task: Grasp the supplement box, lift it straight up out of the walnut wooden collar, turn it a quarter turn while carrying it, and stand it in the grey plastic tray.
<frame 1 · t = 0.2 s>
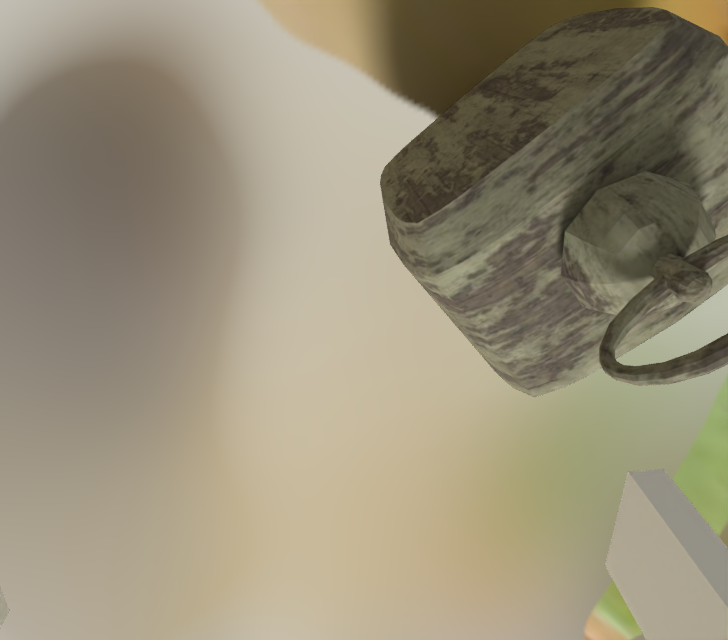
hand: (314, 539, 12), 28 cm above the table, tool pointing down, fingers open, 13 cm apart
tabletop clock: (485, 149, 36), on the table
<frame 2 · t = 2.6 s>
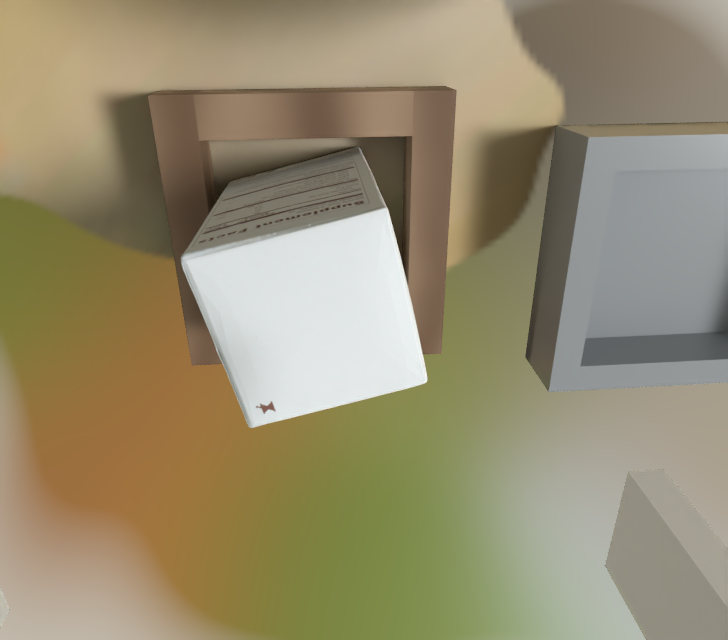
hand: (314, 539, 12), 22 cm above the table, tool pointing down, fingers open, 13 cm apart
grey tray: (672, 247, 34), on the table
supplement box: (312, 224, 32), resting in walnut collar
walnut collar: (312, 225, 31), on the table
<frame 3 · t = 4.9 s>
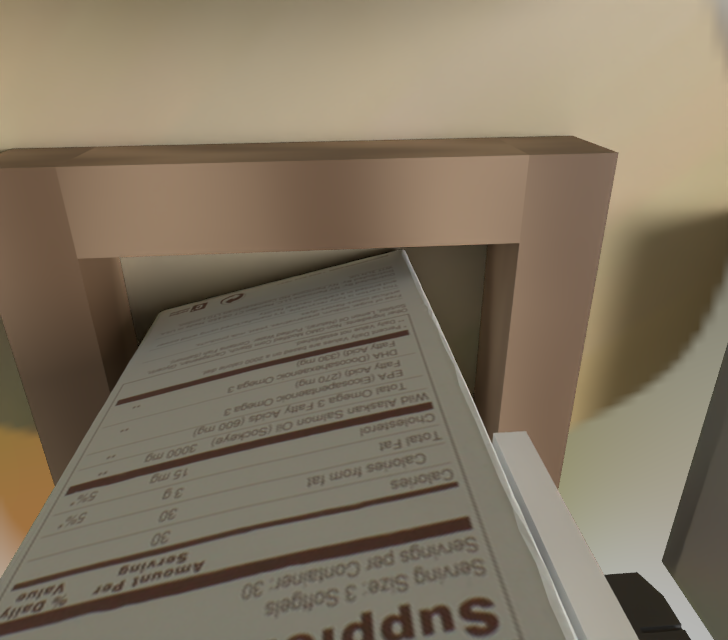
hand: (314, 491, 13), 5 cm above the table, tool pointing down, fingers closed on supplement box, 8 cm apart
supplement box: (314, 376, 18), resting in walnut collar, touching gripper
walnut collar: (314, 380, 17), on the table
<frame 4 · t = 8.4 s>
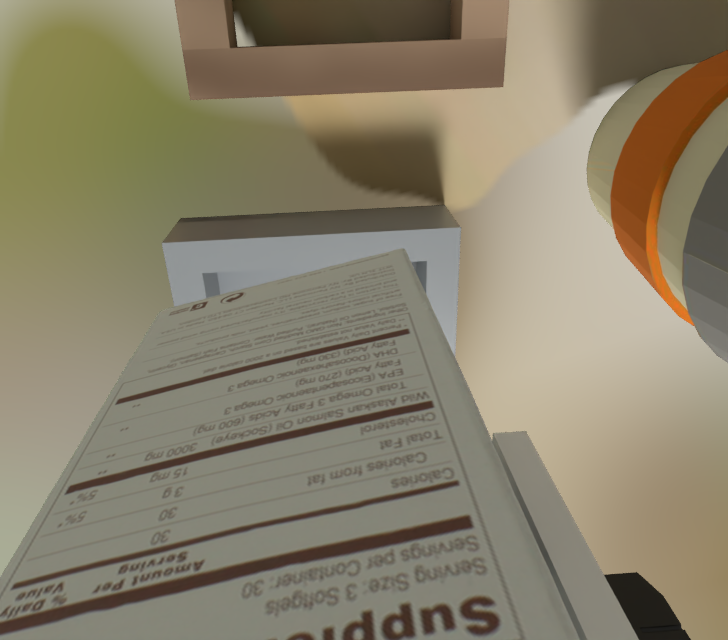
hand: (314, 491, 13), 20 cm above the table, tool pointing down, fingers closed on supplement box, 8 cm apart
reusable coffee cup: (667, 155, 31), on the table
grey tray: (323, 343, 34), on the table
supplement box: (314, 375, 18), point 15 cm above the table, touching gripper
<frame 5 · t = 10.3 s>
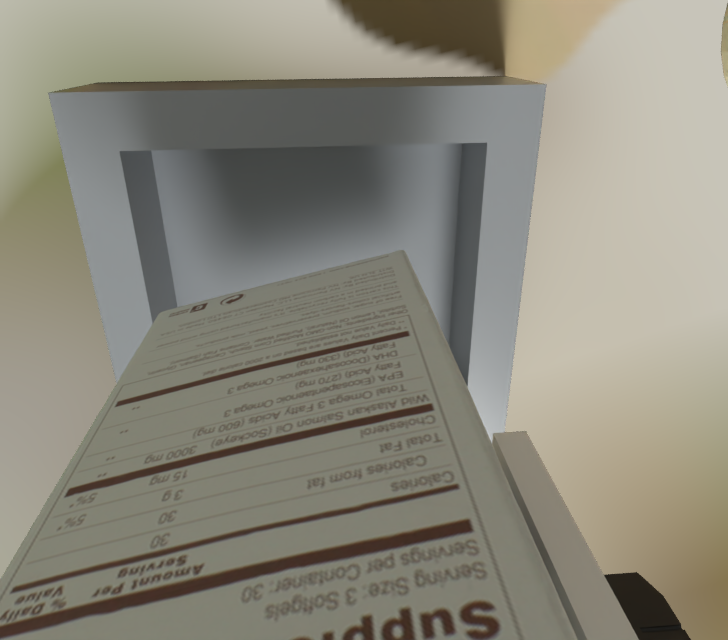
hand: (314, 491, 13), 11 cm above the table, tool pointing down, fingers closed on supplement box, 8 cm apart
grey tray: (316, 292, 23), on the table
supplement box: (314, 377, 18), point 6 cm above the table, touching gripper
when the fingers open (7 cm above the table, at t = 11.9 s): supplement box drops 2 cm, resting on grey tray.
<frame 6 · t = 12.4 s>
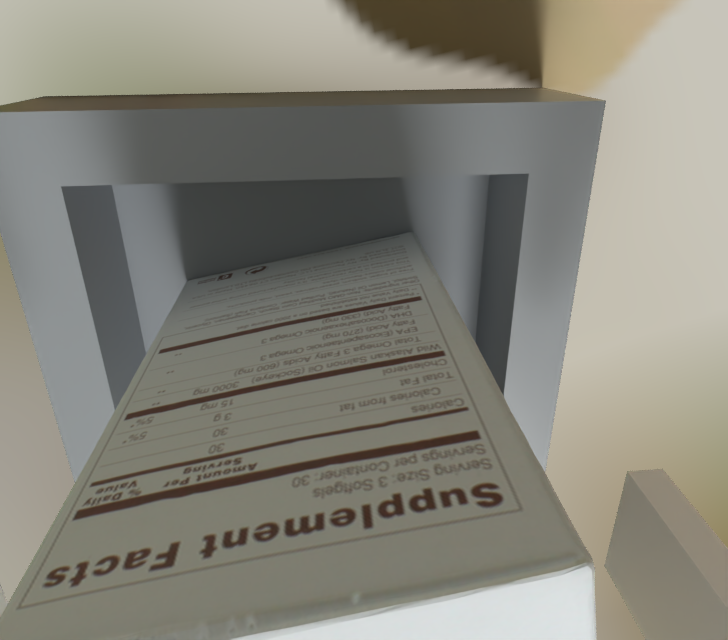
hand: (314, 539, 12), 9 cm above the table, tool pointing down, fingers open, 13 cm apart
grey tray: (314, 342, 20), on the table
supplement box: (325, 348, 19), point 1 cm above the table, touching grey tray
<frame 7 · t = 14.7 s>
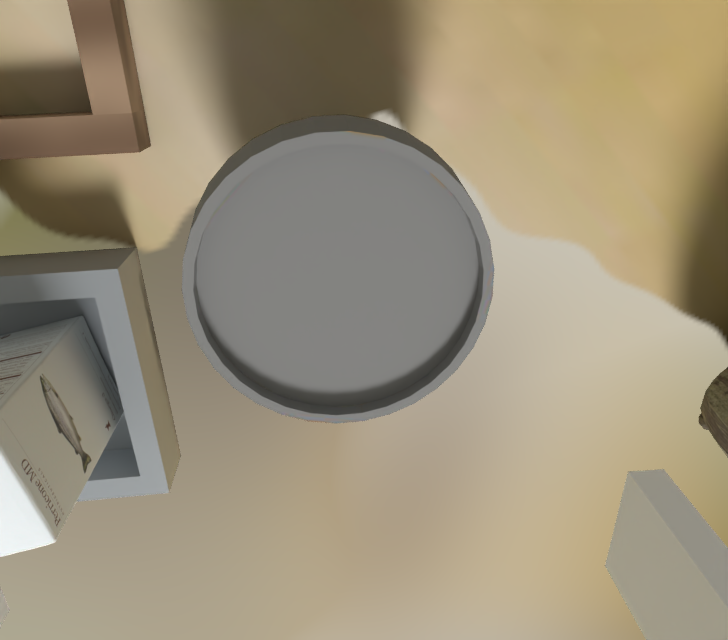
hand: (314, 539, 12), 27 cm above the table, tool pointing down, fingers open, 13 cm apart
reusable coffee cup: (327, 203, 36), on the table
grey tray: (54, 368, 39), on the table
supplement box: (56, 371, 38), point 1 cm above the table, touching grey tray
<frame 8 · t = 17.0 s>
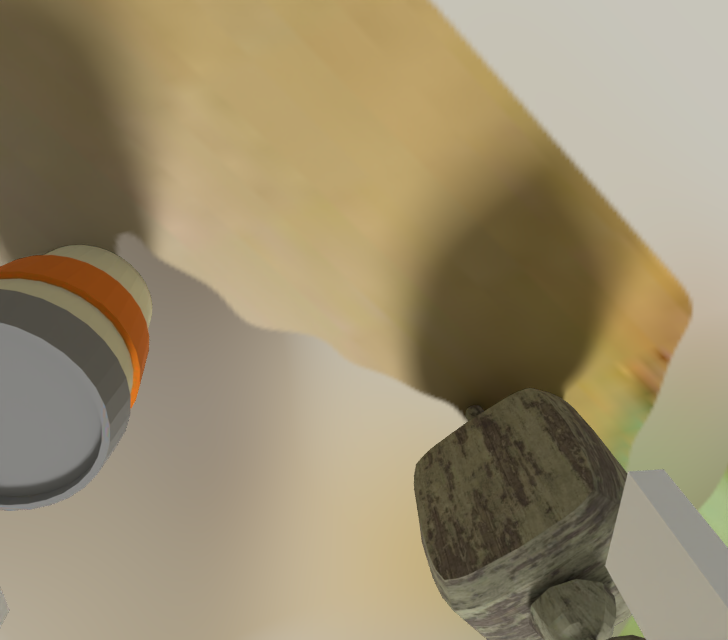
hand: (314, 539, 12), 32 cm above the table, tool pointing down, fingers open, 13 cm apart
reusable coffee cup: (91, 301, 43), on the table
tabletop clock: (484, 421, 51), on the table
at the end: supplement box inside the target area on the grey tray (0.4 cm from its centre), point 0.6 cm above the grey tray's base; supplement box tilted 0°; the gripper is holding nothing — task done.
